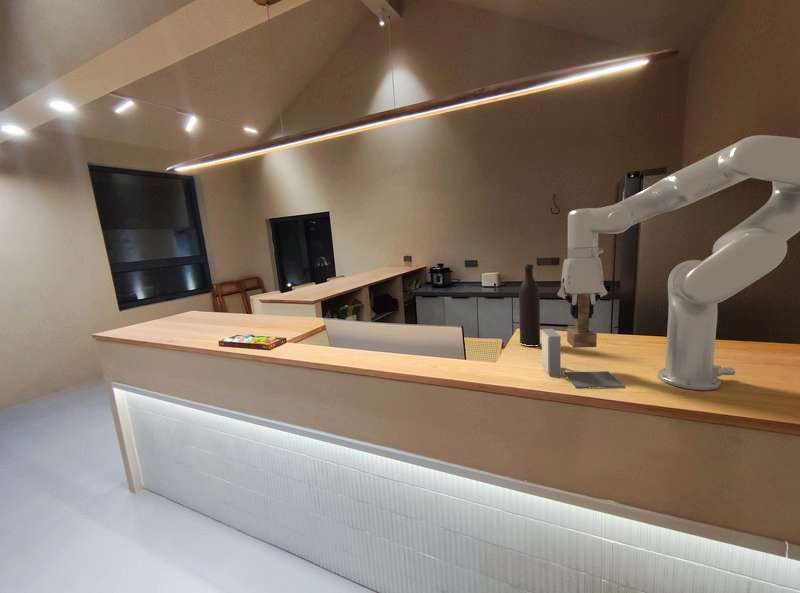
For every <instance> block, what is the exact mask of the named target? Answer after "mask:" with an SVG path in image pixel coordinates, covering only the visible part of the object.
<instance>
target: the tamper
mask: <svg viewBox="0 0 800 593" xmlns="http://www.w3.org/2000/svg"><path fill="white" fill-rule="evenodd" d="M589 300H590V294H577V302H576V303H577V305H578V318H577V319H575V318H574V319H573V323H574V325H573V326H574V327H572V328H571V327H570V328H566V330H567V331H566V337H567V338H566V342H567V343H568V344H569V345H571V346H572V348H575V349H577V348H597V346H598V345H597V341H598V340H597V337H598V335H597V332H596V331H594V330H592V329H591V328H590V318H589Z"/></svg>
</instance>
